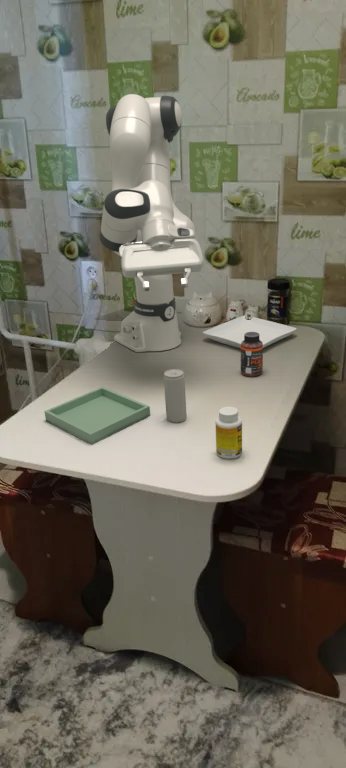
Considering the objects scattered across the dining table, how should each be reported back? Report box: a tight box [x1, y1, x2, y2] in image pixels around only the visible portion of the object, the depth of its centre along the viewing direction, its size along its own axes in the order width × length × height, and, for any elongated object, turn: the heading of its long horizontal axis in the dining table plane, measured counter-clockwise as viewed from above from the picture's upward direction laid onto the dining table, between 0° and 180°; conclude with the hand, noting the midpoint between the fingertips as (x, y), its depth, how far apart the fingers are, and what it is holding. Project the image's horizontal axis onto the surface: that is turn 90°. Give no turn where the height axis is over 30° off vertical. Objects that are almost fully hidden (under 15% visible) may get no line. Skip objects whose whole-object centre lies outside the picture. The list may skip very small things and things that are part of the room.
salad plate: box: [202, 315, 297, 350], centre depth 199 cm, size 21×21×3 cm
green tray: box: [44, 386, 151, 445], centre depth 156 cm, size 18×18×3 cm
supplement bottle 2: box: [240, 332, 264, 378], centre depth 174 cm, size 6×6×11 cm
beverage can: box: [163, 368, 187, 424], centre depth 152 cm, size 5×5×12 cm
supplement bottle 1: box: [215, 406, 243, 460], centre depth 137 cm, size 6×6×10 cm
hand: (165, 288), depth 157 cm, fingers open, 8 cm apart
